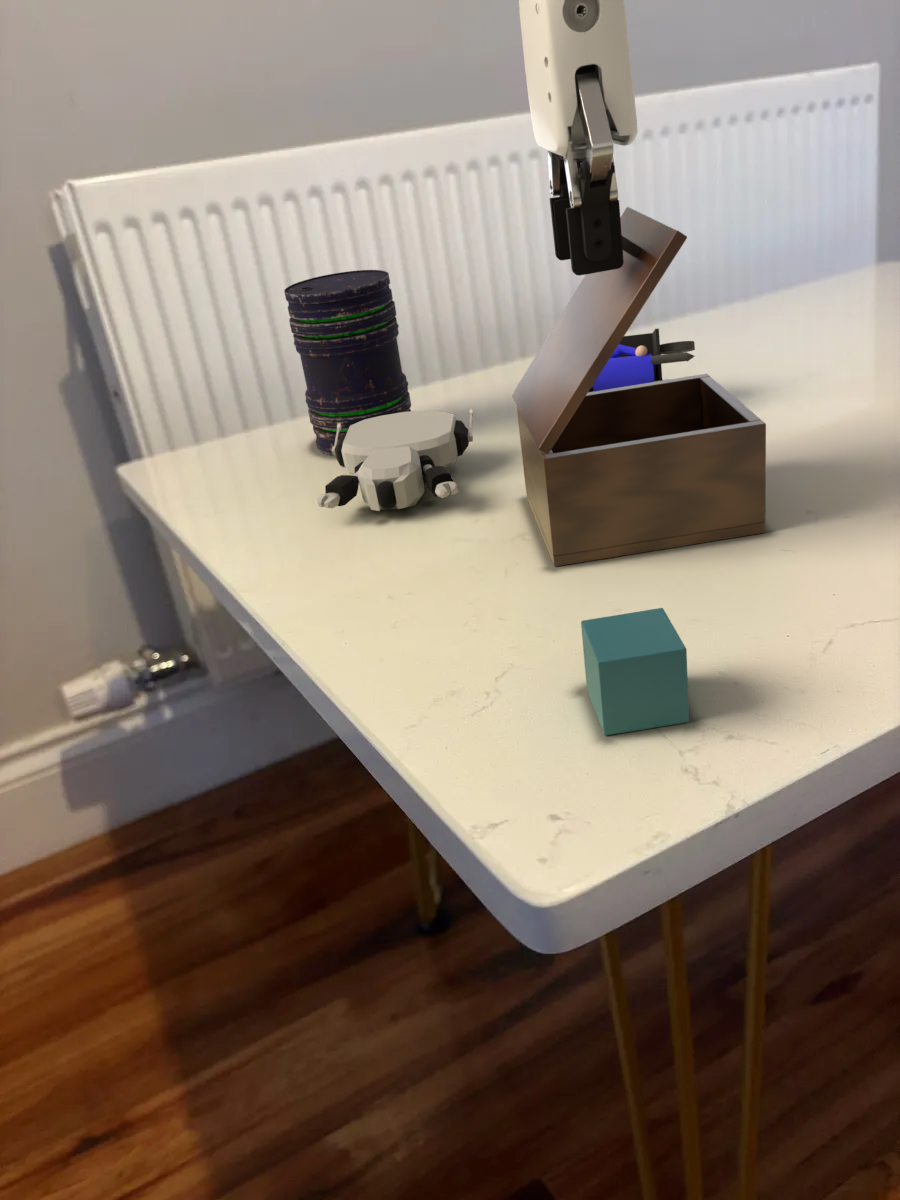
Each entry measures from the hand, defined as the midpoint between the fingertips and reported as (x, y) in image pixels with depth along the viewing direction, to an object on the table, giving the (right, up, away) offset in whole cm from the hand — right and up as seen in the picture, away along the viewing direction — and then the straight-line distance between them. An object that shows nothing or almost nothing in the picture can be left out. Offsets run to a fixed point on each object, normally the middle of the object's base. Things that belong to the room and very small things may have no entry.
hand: (588, 260), depth 67 cm
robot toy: (-13, -13, +20) cm, 27 cm away
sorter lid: (+1, -4, +2) cm, 4 cm away
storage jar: (-17, -7, +33) cm, 38 cm away
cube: (+1, -28, -13) cm, 31 cm away
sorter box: (+5, -16, +9) cm, 19 cm away
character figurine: (+7, -5, +29) cm, 30 cm away
